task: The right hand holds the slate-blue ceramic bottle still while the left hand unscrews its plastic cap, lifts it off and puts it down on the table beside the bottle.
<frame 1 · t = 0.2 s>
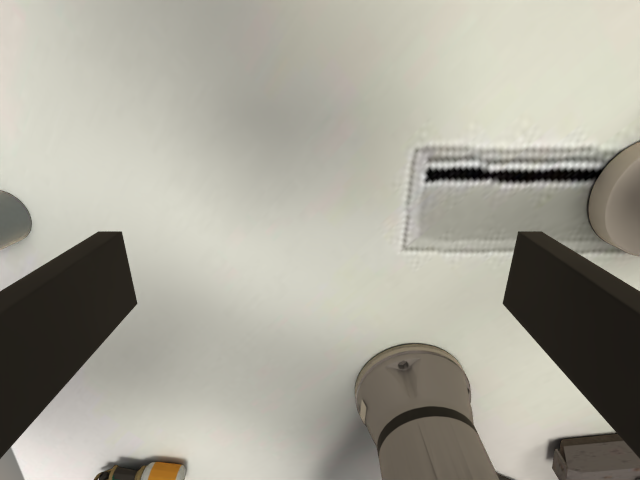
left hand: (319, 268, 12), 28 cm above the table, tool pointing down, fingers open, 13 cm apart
bottle: (3, 216, 41), on the table
toy: (623, 475, 57), on the table
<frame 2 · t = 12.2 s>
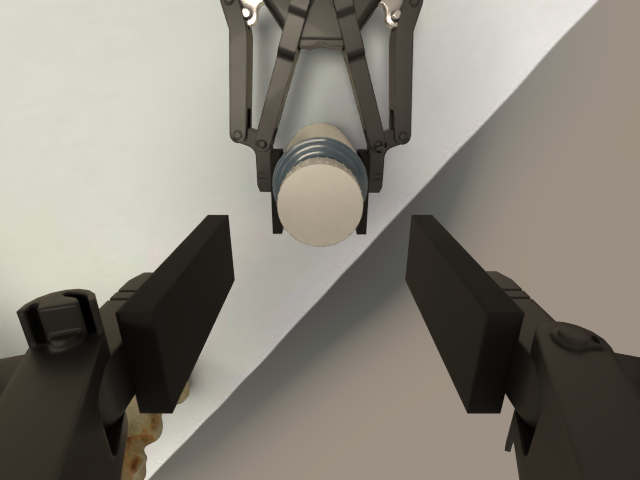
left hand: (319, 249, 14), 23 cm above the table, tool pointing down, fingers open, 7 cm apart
right hand: (319, 228, 31), fingers closed on bottle, 6 cm apart
sculpture: (168, 369, 45), on the table
bottle: (320, 155, 35), on the table, touching right hand
cap: (320, 205, 19), point 17 cm above the table, screwed on, not yet turned
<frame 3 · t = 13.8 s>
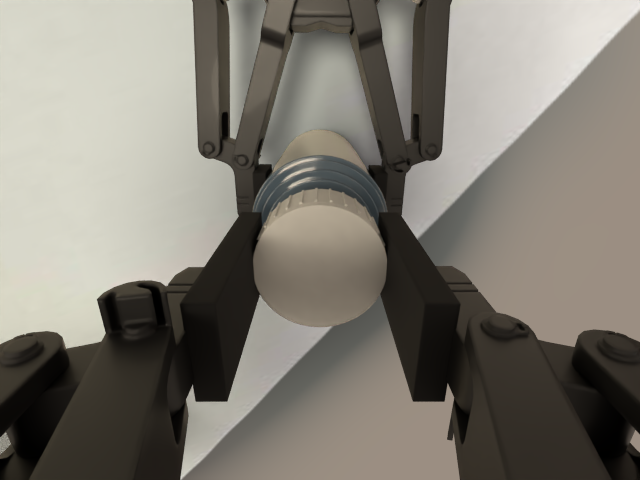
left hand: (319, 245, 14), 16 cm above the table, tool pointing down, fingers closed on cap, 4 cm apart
right hand: (319, 265, 24), fingers closed on bottle, 6 cm apart
bottle: (319, 170, 29), on the table, touching right hand
cap: (320, 266, 12), point 17 cm above the table, screwed on, not yet turned, touching left hand
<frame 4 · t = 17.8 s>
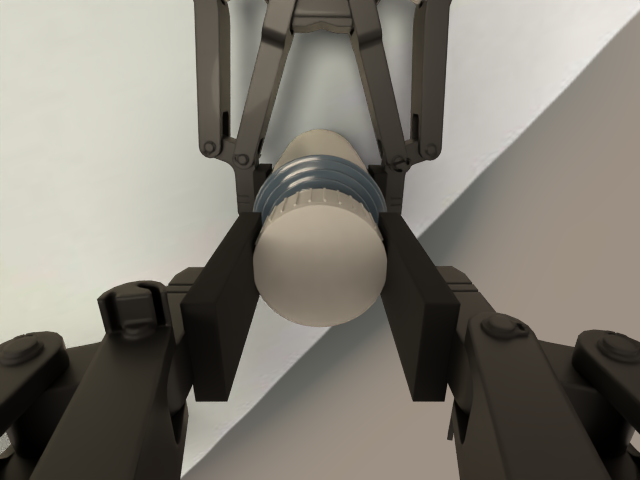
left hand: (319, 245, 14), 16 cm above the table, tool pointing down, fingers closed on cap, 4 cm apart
right hand: (319, 264, 24), fingers closed on bottle, 6 cm apart
bottle: (319, 169, 29), on the table, touching right hand
cap: (319, 266, 12), point 18 cm above the table, turned 129° so far, risen 0.1 cm, still on its thread, touching left hand
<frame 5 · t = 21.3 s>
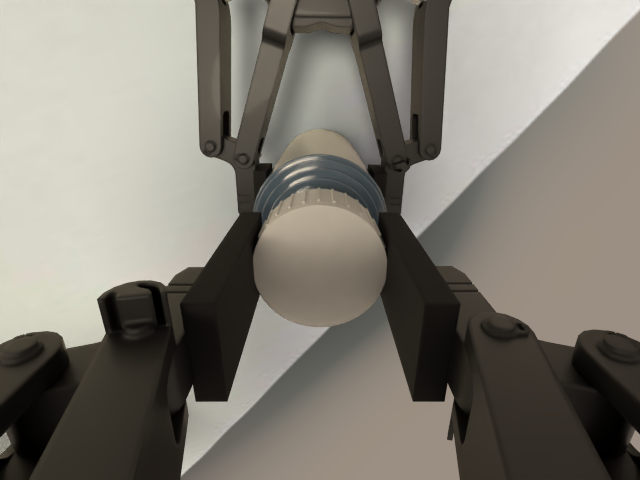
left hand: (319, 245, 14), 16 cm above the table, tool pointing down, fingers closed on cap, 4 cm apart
right hand: (318, 264, 24), fingers closed on bottle, 6 cm apart
bottle: (319, 169, 29), on the table, touching right hand
cap: (319, 266, 12), point 18 cm above the table, turned 259° so far, risen 0.2 cm, still on its thread, touching left hand
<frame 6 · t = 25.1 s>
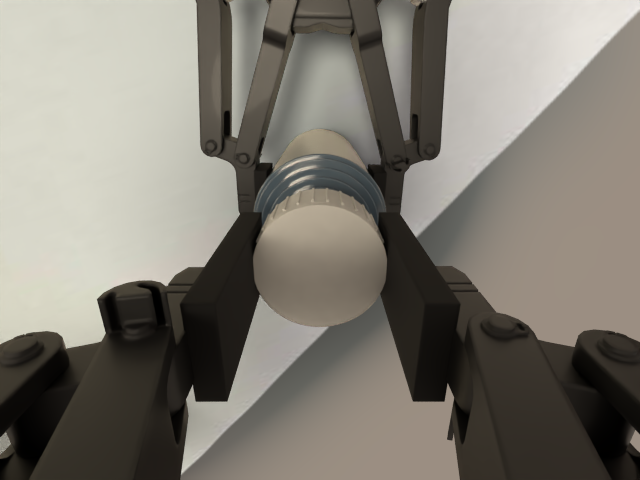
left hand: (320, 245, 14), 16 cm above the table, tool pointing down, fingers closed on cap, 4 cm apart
right hand: (318, 263, 24), fingers closed on bottle, 6 cm apart
bottle: (319, 169, 29), on the table, touching right hand
cap: (320, 266, 12), point 18 cm above the table, turned 388° so far, risen 0.4 cm, still on its thread, touching left hand
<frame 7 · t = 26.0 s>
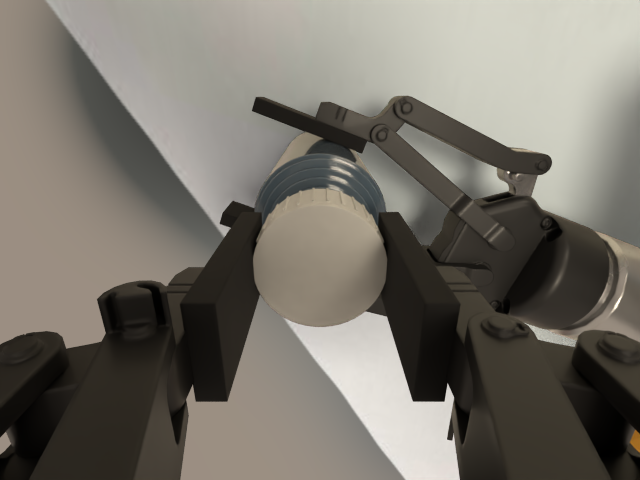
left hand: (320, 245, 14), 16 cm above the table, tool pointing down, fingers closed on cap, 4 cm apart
right hand: (242, 160, 22), fingers closed on bottle, 6 cm apart
bottle: (320, 169, 29), on the table, touching right hand
cap: (320, 266, 12), point 18 cm above the table, off its thread, touching left hand
when the left hand's fingers open (1 cm above the table, at t = 30.9 s): cap drops 1 cm, point 2 cm above the table.
when the right hand's fingers open (7 cm above the table, at t = 32.1 s): bottle stays where it is, on the table.
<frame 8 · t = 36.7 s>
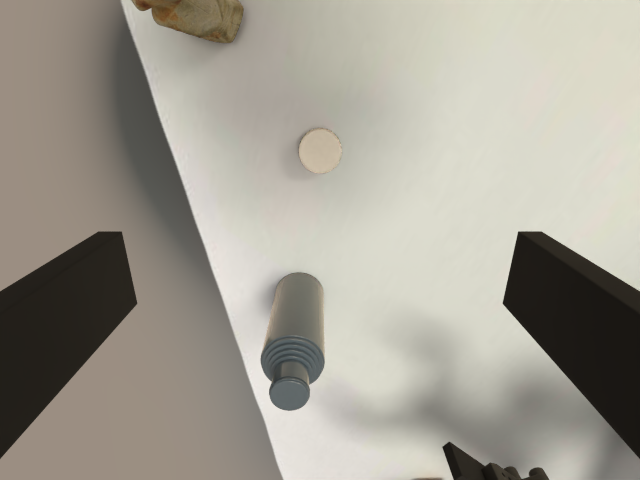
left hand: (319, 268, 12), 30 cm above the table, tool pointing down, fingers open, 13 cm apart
sculpture: (211, 14, 35), on the table
bottle: (299, 293, 47), on the table
cap: (320, 151, 38), point 2 cm above the table, off its thread
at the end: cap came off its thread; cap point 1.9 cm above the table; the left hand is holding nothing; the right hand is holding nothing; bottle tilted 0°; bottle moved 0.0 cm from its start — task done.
